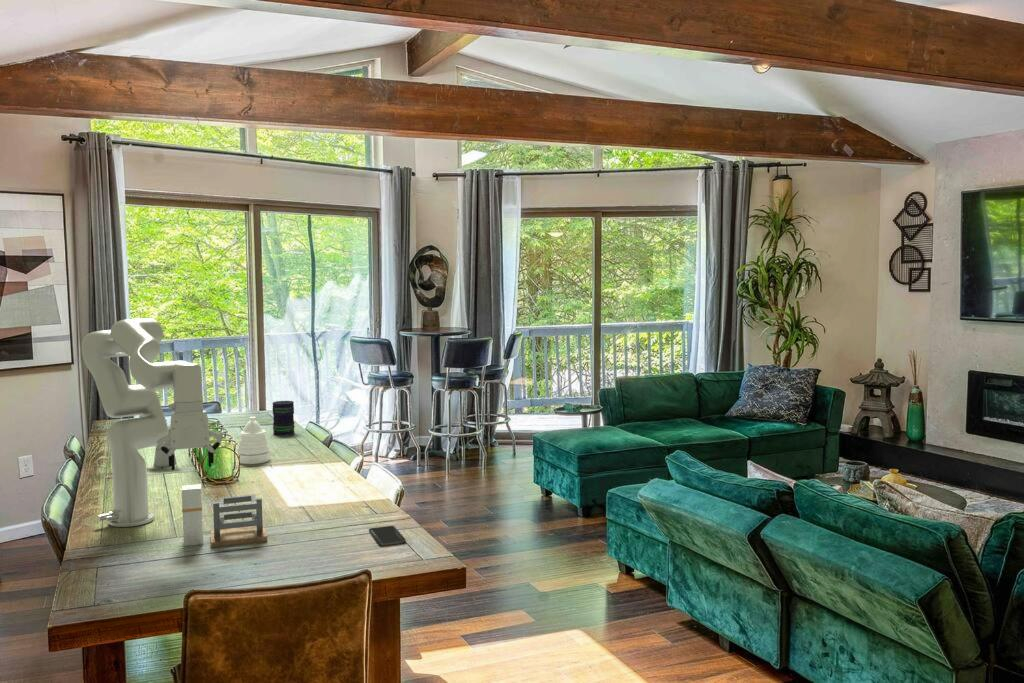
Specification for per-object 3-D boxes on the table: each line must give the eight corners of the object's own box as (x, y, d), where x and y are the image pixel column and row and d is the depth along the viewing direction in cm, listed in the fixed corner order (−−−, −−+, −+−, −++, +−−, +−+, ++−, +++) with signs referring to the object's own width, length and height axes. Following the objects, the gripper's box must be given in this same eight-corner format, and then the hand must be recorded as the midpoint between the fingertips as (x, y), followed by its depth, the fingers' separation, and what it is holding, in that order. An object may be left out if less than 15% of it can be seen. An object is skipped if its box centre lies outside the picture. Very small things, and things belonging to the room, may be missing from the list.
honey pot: (271, 462, 328) (270, 418, 327) (237, 465, 323) (236, 420, 322) (268, 455, 340) (267, 412, 339) (236, 458, 335) (234, 415, 334)
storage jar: (272, 432, 389) (272, 401, 388) (294, 430, 392) (293, 400, 391) (273, 436, 380) (272, 404, 378) (295, 434, 383) (294, 403, 381)
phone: (379, 544, 227) (368, 528, 241) (379, 548, 227) (368, 532, 241) (407, 540, 230) (394, 525, 244) (407, 544, 230) (394, 529, 244)
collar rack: (211, 547, 227) (209, 508, 226) (211, 535, 237) (209, 498, 236) (267, 541, 232) (266, 503, 231) (264, 529, 242) (263, 493, 241)
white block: (183, 546, 228) (181, 490, 227) (184, 540, 233) (181, 485, 231) (203, 544, 230) (201, 488, 228) (203, 538, 235) (201, 483, 233)
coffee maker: (143, 466, 322) (142, 421, 321) (158, 461, 331) (156, 417, 329) (176, 468, 319) (175, 422, 317) (190, 463, 327) (189, 418, 326)
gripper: (154, 411, 221) (157, 473, 223) (221, 406, 227) (224, 467, 229) (156, 407, 228) (159, 467, 230) (221, 403, 234) (224, 461, 236)
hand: (191, 467), depth 229 cm, fingers open, 9 cm apart
